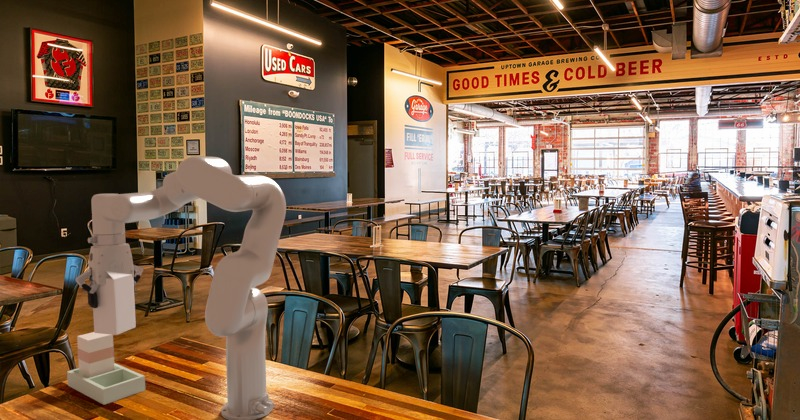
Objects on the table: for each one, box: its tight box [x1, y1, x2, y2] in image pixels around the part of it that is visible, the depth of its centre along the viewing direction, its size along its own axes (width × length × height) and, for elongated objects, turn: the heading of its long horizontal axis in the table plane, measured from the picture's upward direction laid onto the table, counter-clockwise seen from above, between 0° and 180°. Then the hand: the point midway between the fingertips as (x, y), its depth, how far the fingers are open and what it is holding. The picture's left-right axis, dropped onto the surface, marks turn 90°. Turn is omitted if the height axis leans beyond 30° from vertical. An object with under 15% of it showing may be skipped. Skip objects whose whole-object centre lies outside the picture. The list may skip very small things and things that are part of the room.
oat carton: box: [76, 331, 115, 379], centre depth 151 cm, size 7×7×14 cm
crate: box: [66, 362, 146, 406], centre depth 148 cm, size 21×11×5 cm, turn 54°
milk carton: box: [92, 271, 137, 336], centre depth 143 cm, size 7×7×19 cm
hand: (112, 303), depth 144 cm, fingers closed on milk carton, 9 cm apart
